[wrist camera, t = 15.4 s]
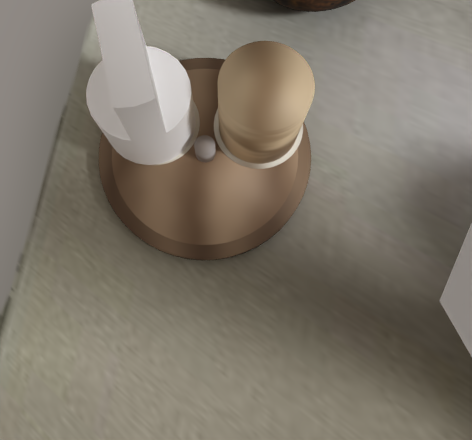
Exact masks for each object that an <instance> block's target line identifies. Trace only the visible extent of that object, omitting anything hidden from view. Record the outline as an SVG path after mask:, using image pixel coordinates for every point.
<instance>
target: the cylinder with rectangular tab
mask: <svg viewBox="0 0 472 440" xmlns="http://www.w3.org/2000/svg"><path fill="white" fill-rule="evenodd" d="M91 6H92V10H93V15H94V20H95V25H96V29H97V34H98V39H99V43H100V48H101V53H102V58H103V60H102V61H101V62H100V63H99V64H98V65H97V66H96V67H95V69H94V70H93V72H92V74H91V76H90V78H89V81H88V85H87V89H86V98H87V105H88V108H89V111H90V114H91V116H92V117H93V119H94V120H95V122H96V123H97V125H98V126H99V128H100V129H101V130H102V132H103V133H104V135H105V136H106V138H107V139H108V141H109V142H110V143H111V145H112V146H113V148H114V149H115V150H116V152H118V153H119V154H120V155H121V156H123V157H124V158H125V159H127V160H130V161H132V162H134V163H138V164H144V165H154V164H161V163H164V162H167V161H169V160H172V159H173V158H175V157H176V156H178V155H179V154H181V153H182V152H183V151H184V150H185V148H186V147H187V146H188V145H189V143H190V141H191V139H192V137H193V135H194V131H195V125H196V120H195V111H194V104H193V97H192V91H191V84H190V80H189V77H188V75H187V72H186V70H185V69H184V67H183V66H182V65H181V63H180V62H179V61H178V60H177V59H176V58H175V57H173V56H172V55H170V54H169V53H168V52H166V51H163V50H161V49H158V48H156V47H150V46H146V44H145V41H144V37H143V34H142V30H141V27H140V24H139V20H138V17H137V14H136V10H135V7H134V3H133V0H101V1H97V2H95V3H93V4H92V5H91Z"/></svg>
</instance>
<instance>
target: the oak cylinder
mask: <svg viewBox="0 0 472 440" xmlns="http://www.w3.org/2000/svg"><path fill="white" fill-rule="evenodd" d="M314 93H315V81H314V76H313V73H312V71H311V68H310V66H309V65H308V63H307V62H306V60H305V59H304V58H303V57H302V56H301V55H300V54H299V53H298V52H296V51H295V50H294V49H292V48H290V47H288V46H286V45H284V44H281V43H277V42H272V41H258V42H252V43H249V44H246V45H244V46H242V47H240V48H238V49H236V50H235V51H234V52H232V53H231V54H230V55H229V56H228V58H227V59H226V60H225V61H224V63H223V65H222V67H221V69H220V72H219V75H218V118H219V133H220V137H221V139H222V142H223V144H224V145H225V147H226V148H227V149H228V150H229V151H230V152H231V153H232V154H233V155H234V156H236V157H237V158H239V159H241V160H243V161H246V162H249V163H255V164H264V163H269V162H273V161H275V160H278V159H280V158H281V157H283V156H284V155H285V154H287V153H288V151H289V150H290V149H291V148H292V146H293V145H294V143H295V141H296V139H297V136H298V134H299V131H300V129H301V127H302V124H303V122H304V120H305V117H306V115H307V113H308V110H309V108H310V106H311V103H312V101H313V98H314Z"/></svg>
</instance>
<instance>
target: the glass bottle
mask: <svg viewBox="0 0 472 440" xmlns="http://www.w3.org/2000/svg"><path fill="white" fill-rule="evenodd" d="M273 1H275V2H277V3H279V4H281V5H283V6H286V7H288V8H291V9H295V10H301V11H308V12H309V11H314V12H317V11H326V10H331V9H334V8H338V7H341V6H344V5H346V4H349V3H351V2H353V1H355V0H273Z"/></svg>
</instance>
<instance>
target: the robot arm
mask: <svg viewBox="0 0 472 440" xmlns="http://www.w3.org/2000/svg"><path fill="white" fill-rule="evenodd" d="M440 303H441V305H442V306H443V308H444V310H445V312H446V313H447V315H448V317H449V318H450V320H451V322H452V324H453V325H454V327H455V329H456V331H457V332H458V334H459V336H460V338H461V339H462V341H463V343H464V345H465V346H466V348H467V350H468V352H469V353H470V355H471V357H472V223H471V225H470V228H469V230H468V232H467V235H466V237H465V240H464V242H463V245H462V247H461V250H460V252H459V254H458V257H457V259H456V262H455V264H454V267H453V269H452V272H451V274H450V276H449V279H448V281H447V284H446V286H445V289H444V291H443V293H442V296H441V298H440Z"/></svg>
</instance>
